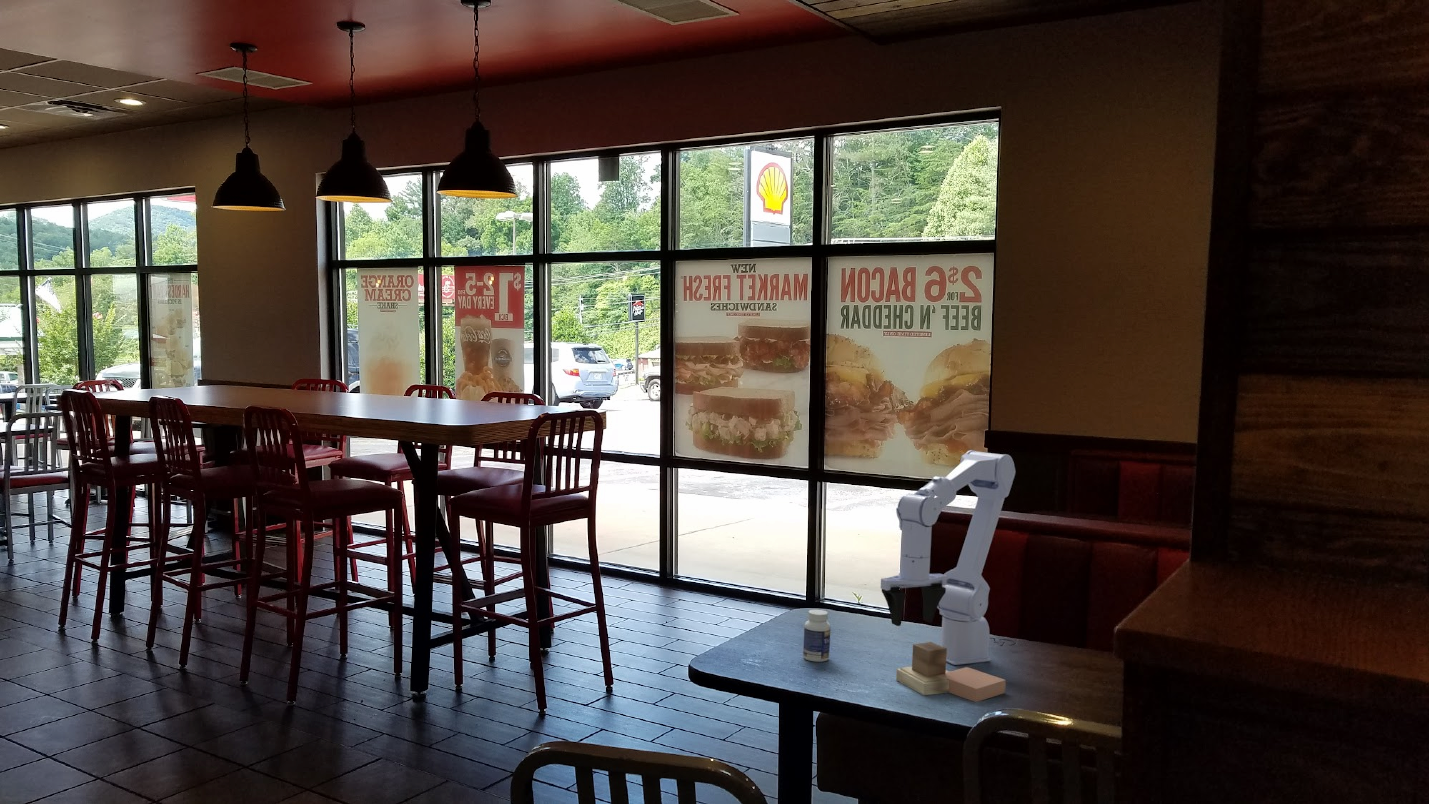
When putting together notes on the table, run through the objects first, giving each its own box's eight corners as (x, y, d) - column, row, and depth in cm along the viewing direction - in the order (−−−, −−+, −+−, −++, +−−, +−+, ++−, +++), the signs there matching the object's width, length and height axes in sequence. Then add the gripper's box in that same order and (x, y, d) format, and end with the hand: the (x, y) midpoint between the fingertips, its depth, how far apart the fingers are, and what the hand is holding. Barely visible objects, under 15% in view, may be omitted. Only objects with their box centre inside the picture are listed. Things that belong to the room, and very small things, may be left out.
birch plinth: (934, 675, 201) (934, 663, 201) (962, 690, 192) (963, 677, 192) (896, 679, 197) (896, 667, 197) (923, 695, 189) (924, 682, 189)
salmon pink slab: (966, 679, 199) (966, 666, 199) (1004, 692, 192) (1005, 680, 192) (936, 687, 193) (937, 675, 193) (975, 702, 186) (976, 688, 186)
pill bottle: (827, 663, 205) (830, 616, 205) (801, 661, 206) (803, 614, 206) (830, 655, 211) (832, 609, 210) (804, 653, 212) (806, 607, 211)
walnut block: (929, 666, 198) (930, 641, 198) (945, 673, 194) (946, 648, 194) (911, 669, 196) (913, 644, 195) (927, 677, 192) (929, 651, 191)
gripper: (932, 548, 206) (929, 614, 207) (873, 553, 200) (869, 620, 201) (954, 556, 200) (951, 623, 201) (893, 560, 193) (890, 630, 194)
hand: (912, 622), depth 200 cm, fingers open, 7 cm apart
